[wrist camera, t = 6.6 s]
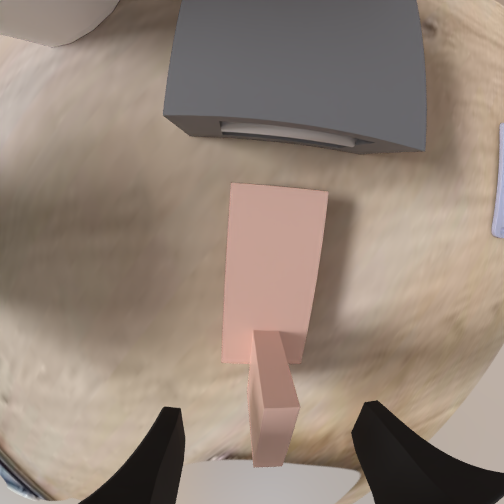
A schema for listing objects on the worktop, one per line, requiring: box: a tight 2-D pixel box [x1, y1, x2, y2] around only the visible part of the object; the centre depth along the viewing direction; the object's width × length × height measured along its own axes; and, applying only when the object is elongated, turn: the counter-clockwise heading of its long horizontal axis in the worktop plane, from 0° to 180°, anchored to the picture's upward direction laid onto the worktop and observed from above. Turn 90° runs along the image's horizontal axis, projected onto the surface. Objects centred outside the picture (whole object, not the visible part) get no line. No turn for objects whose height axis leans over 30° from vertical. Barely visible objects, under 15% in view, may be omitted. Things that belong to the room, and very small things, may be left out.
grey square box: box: [163, 0, 427, 154], centre depth 9 cm, size 8×8×5 cm
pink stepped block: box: [221, 182, 329, 467], centre depth 11 cm, size 4×10×5 cm, turn 175°
